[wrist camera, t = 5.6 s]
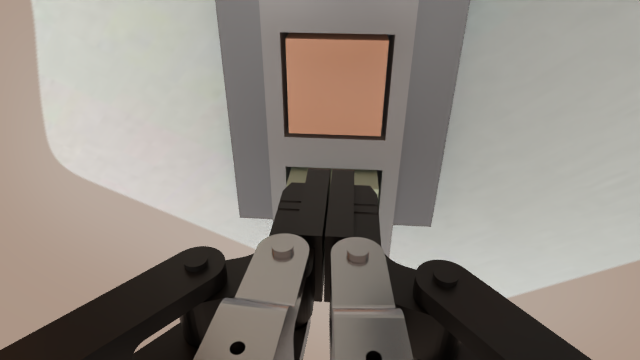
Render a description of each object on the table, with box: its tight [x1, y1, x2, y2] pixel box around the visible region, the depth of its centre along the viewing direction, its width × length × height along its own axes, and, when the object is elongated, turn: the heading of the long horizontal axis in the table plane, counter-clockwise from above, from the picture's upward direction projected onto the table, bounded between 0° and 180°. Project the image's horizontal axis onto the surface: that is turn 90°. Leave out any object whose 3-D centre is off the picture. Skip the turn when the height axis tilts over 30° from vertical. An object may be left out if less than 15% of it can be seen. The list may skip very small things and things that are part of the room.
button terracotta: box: [286, 32, 389, 136], centre depth 24 cm, size 5×5×3 cm
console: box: [215, 0, 470, 258], centre depth 26 cm, size 15×24×6 cm, turn 0°
